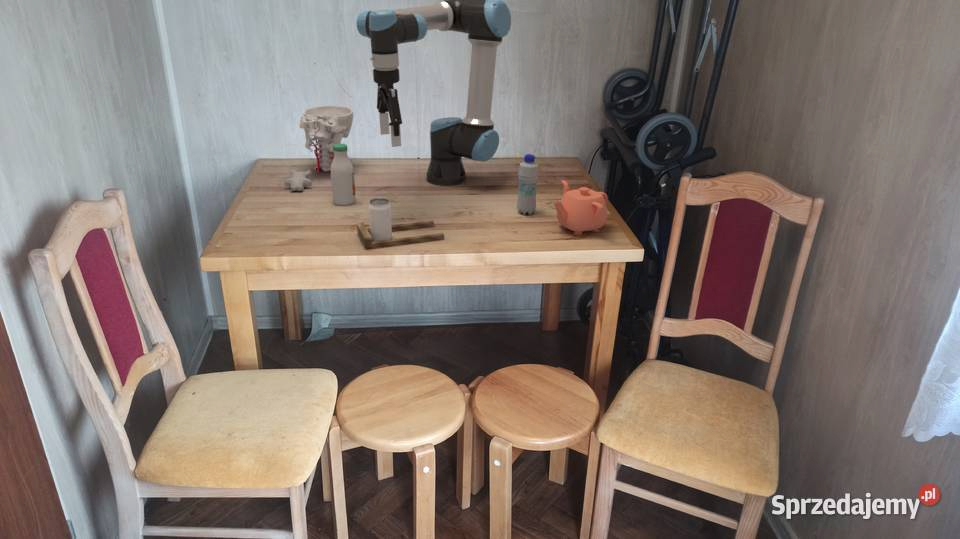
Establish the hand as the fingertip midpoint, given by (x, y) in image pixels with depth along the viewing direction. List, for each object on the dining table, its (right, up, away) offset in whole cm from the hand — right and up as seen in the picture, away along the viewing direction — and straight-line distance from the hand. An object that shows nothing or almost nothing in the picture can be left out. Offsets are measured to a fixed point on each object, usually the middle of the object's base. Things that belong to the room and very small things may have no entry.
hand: (390, 140), depth 195 cm
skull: (-31, -1, +56) cm, 64 cm away
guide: (+4, -29, +1) cm, 30 cm away
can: (-3, -30, -2) cm, 31 cm away
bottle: (+43, -20, +21) cm, 52 cm away
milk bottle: (-20, -16, +26) cm, 36 cm away
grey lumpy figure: (-39, -9, +40) cm, 57 cm away
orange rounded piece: (+58, -26, +10) cm, 64 cm away
